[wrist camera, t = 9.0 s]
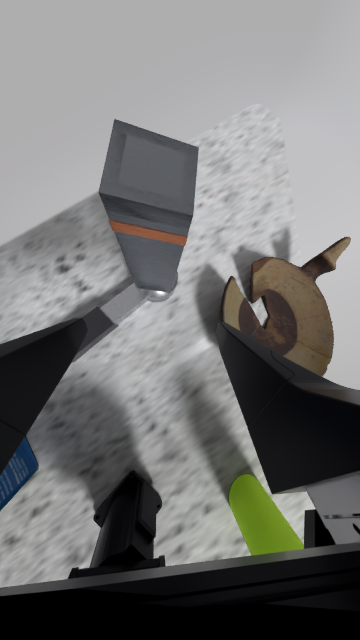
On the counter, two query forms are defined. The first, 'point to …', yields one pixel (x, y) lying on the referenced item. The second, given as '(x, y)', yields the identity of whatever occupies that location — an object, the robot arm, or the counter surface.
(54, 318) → the counter surface
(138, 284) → the grey orange-striped post
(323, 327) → the notched wooden ornament
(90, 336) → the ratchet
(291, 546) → the soap dispenser
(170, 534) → the counter surface
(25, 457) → the blue food package
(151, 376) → the counter surface
